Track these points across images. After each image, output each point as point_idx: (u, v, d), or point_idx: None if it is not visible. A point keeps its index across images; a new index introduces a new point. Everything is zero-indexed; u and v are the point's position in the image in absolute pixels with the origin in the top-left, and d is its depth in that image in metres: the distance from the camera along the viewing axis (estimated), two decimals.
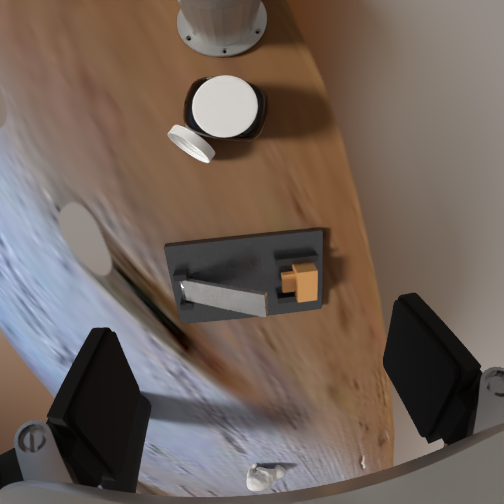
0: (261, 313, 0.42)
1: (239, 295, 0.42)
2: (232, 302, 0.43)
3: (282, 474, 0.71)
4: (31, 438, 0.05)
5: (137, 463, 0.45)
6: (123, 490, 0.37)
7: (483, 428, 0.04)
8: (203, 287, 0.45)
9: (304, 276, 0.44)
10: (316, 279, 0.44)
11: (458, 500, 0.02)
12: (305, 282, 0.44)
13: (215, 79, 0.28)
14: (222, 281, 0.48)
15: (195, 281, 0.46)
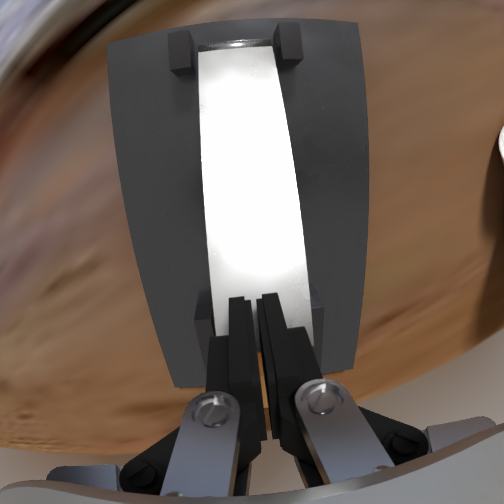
0: None
1: (286, 248, 0.11)
2: (243, 217, 0.12)
3: None
4: (211, 408, 0.06)
5: None
6: None
7: (333, 456, 0.05)
8: (271, 108, 0.12)
9: None
10: None
11: (458, 500, 0.02)
12: None
13: None
14: None
15: None
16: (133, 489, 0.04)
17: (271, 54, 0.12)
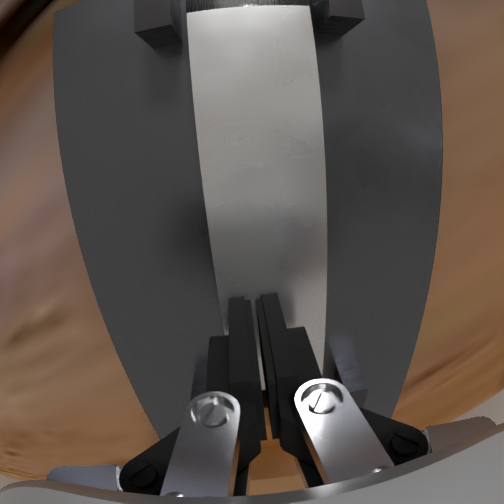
0: None
1: (306, 309, 0.10)
2: (261, 280, 0.10)
3: None
4: (211, 408, 0.06)
5: None
6: None
7: (333, 456, 0.05)
8: (304, 125, 0.08)
9: None
10: None
11: (458, 500, 0.02)
12: None
13: None
14: None
15: None
16: (132, 489, 0.04)
17: (308, 22, 0.07)
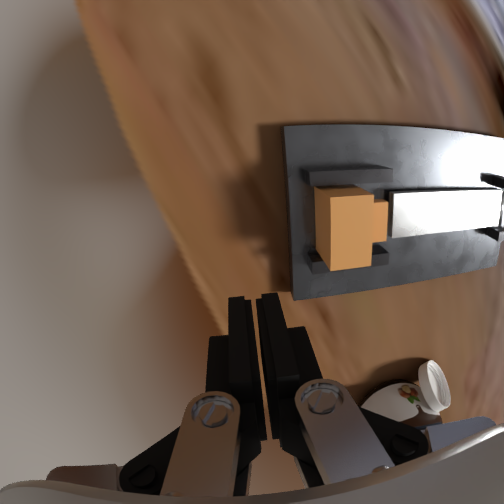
0: (401, 200, 0.22)
1: (429, 226, 0.23)
2: (441, 208, 0.22)
3: None
4: (211, 408, 0.06)
5: None
6: None
7: (333, 457, 0.05)
8: (475, 222, 0.23)
9: (357, 258, 0.20)
10: (333, 251, 0.20)
11: (458, 500, 0.02)
12: (356, 244, 0.20)
13: None
14: None
15: None
16: (132, 489, 0.04)
17: (494, 224, 0.23)
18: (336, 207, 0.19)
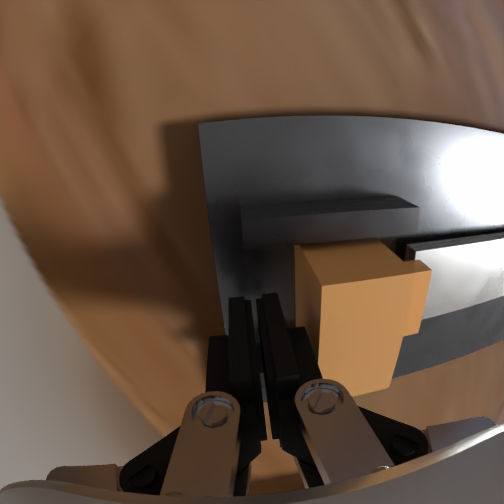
0: (427, 262, 0.11)
1: (464, 297, 0.12)
2: (487, 267, 0.12)
3: None
4: (211, 408, 0.06)
5: None
6: None
7: (333, 456, 0.05)
8: None
9: (367, 381, 0.10)
10: None
11: (458, 500, 0.02)
12: (368, 363, 0.09)
13: None
14: None
15: None
16: (132, 489, 0.04)
17: None
18: (334, 304, 0.08)
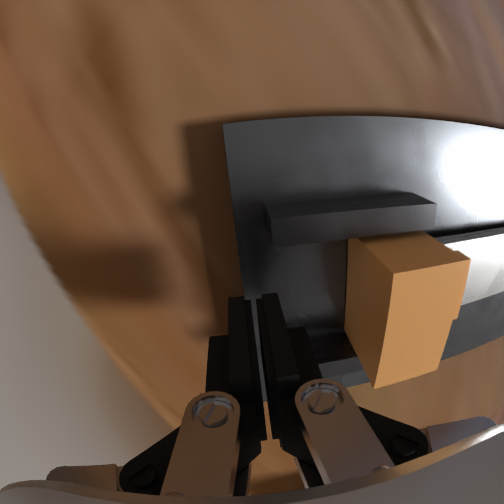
0: None
1: (477, 289, 0.13)
2: (498, 260, 0.12)
3: None
4: (211, 408, 0.06)
5: None
6: None
7: (333, 457, 0.05)
8: None
9: (420, 364, 0.10)
10: (383, 362, 0.10)
11: (458, 500, 0.02)
12: (423, 346, 0.10)
13: None
14: None
15: None
16: (132, 489, 0.04)
17: None
18: (402, 291, 0.09)
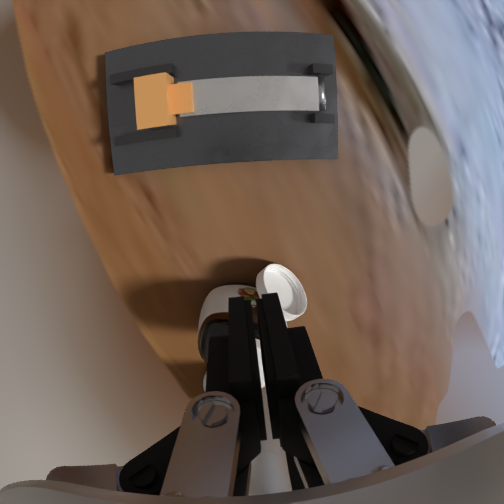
0: None
1: (218, 106, 0.27)
2: (231, 91, 0.27)
3: None
4: (211, 408, 0.06)
5: None
6: None
7: (333, 456, 0.05)
8: (280, 104, 0.27)
9: (157, 119, 0.24)
10: (137, 114, 0.24)
11: (458, 500, 0.02)
12: (154, 108, 0.24)
13: None
14: None
15: (295, 110, 0.28)
16: (132, 489, 0.04)
17: (313, 109, 0.28)
18: (138, 83, 0.23)
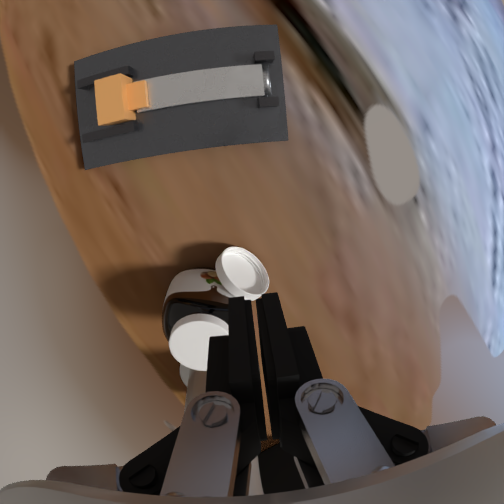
0: None
1: (170, 99, 0.29)
2: (181, 85, 0.28)
3: None
4: (211, 408, 0.06)
5: None
6: None
7: (333, 456, 0.05)
8: (226, 93, 0.29)
9: (114, 114, 0.26)
10: (98, 112, 0.26)
11: (458, 500, 0.02)
12: (112, 105, 0.26)
13: None
14: None
15: (242, 97, 0.30)
16: (132, 489, 0.04)
17: (258, 94, 0.29)
18: (97, 85, 0.25)
